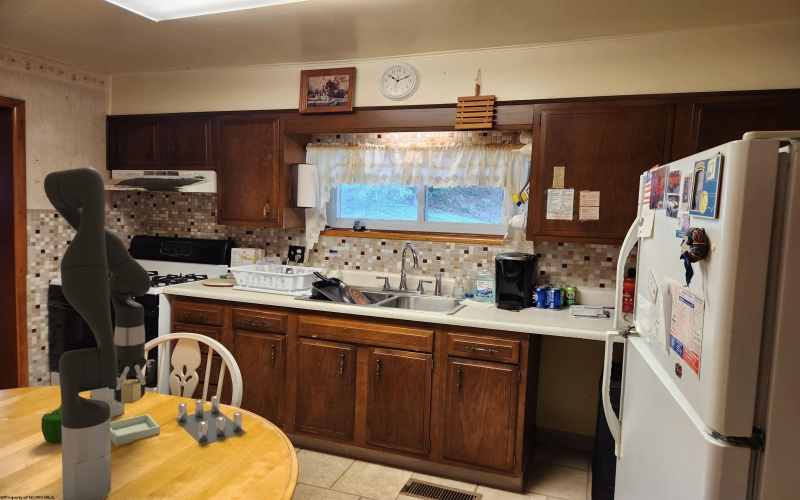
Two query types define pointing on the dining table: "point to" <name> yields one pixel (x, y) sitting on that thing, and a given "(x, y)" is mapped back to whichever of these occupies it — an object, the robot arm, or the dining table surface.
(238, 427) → the standing spacers
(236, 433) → the mat
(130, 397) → the yellow faceted hexagonal block
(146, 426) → the sage parts tray
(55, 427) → the bell pepper
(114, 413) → the skincare box
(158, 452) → the dining table surface
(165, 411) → the dining table surface
